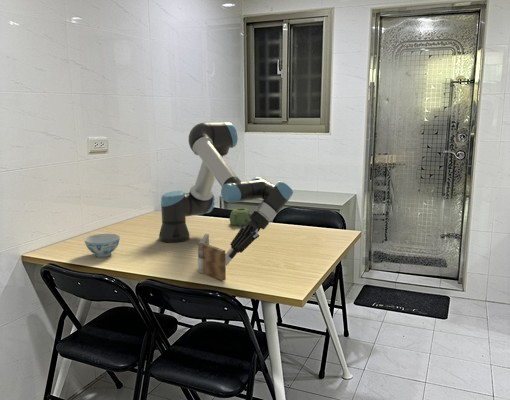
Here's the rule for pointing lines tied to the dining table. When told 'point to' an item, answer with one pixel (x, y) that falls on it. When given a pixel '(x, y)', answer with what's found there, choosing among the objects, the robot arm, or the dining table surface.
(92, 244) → the chinaware
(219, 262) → the brown flat wooden board
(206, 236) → the hinge panel
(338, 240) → the dining table surface
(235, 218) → the green round pot
